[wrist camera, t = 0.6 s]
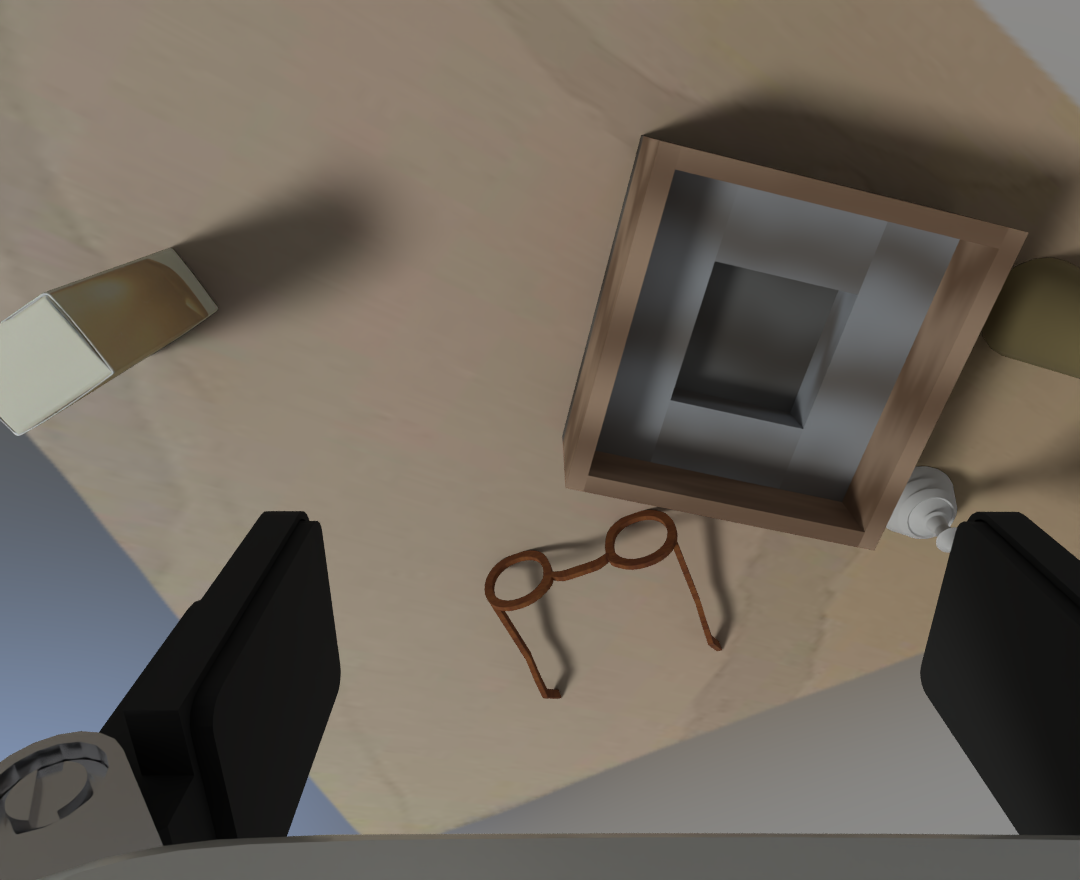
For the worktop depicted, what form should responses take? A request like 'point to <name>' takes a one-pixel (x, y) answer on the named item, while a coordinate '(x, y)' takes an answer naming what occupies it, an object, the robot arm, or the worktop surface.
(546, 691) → the glasses
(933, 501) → the chalice
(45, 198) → the worktop surface
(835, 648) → the worktop surface
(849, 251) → the wooden box
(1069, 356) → the cork
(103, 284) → the skincare box
